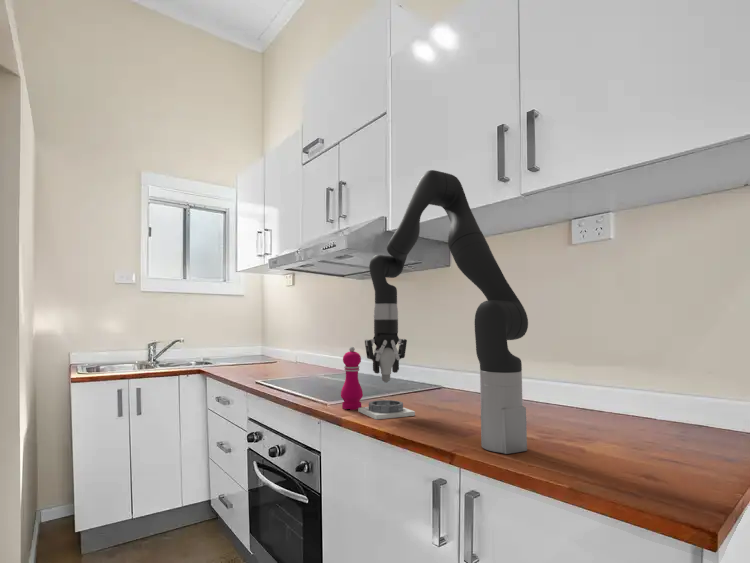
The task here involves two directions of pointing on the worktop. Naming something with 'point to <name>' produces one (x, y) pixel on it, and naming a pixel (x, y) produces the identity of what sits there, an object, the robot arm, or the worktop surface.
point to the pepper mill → (351, 381)
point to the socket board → (386, 415)
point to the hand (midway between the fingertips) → (386, 372)
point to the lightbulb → (386, 363)
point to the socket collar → (385, 406)
